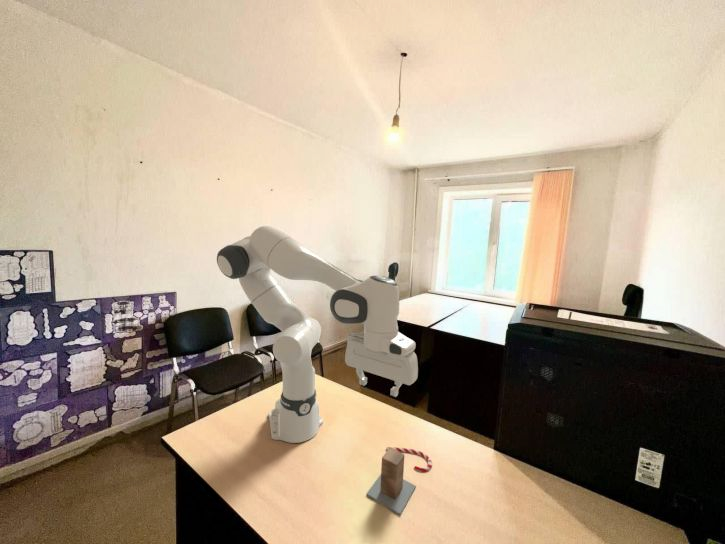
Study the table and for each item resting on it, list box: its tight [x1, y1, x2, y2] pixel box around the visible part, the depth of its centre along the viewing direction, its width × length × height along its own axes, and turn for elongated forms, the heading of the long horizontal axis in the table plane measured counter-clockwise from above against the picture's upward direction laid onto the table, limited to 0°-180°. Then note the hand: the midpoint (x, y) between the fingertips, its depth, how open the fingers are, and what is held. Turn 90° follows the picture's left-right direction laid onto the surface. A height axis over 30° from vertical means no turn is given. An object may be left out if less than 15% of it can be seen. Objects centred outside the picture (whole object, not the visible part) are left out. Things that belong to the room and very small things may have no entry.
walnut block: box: [380, 448, 405, 500], centre depth 78 cm, size 4×4×10 cm
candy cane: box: [386, 446, 433, 473], centre depth 91 cm, size 8×1×15 cm
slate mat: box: [366, 473, 417, 516], centre depth 79 cm, size 10×10×1 cm
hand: (378, 389), depth 76 cm, fingers open, 8 cm apart
